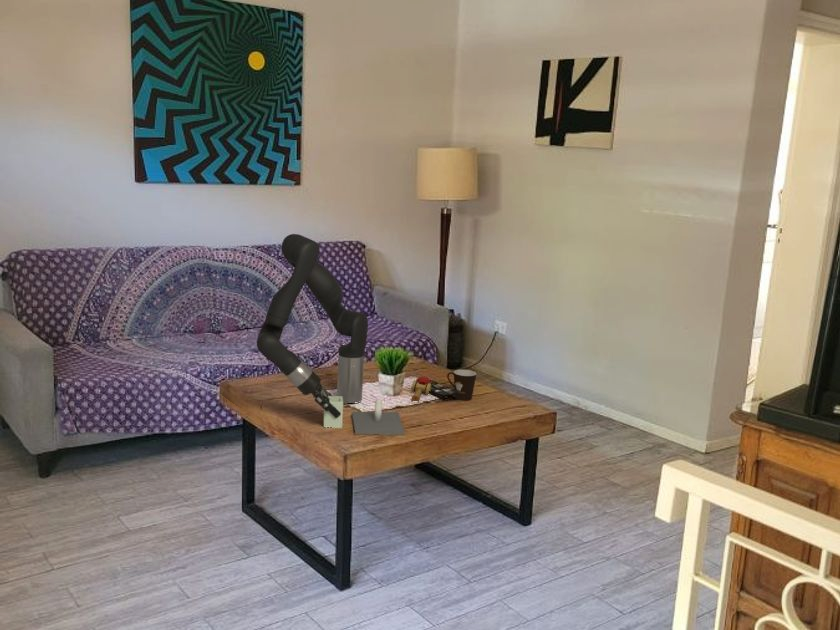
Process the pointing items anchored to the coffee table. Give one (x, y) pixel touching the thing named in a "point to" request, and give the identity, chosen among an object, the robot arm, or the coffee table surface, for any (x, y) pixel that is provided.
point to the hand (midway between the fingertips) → (338, 412)
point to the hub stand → (377, 422)
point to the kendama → (420, 387)
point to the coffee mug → (463, 384)
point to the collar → (329, 418)
